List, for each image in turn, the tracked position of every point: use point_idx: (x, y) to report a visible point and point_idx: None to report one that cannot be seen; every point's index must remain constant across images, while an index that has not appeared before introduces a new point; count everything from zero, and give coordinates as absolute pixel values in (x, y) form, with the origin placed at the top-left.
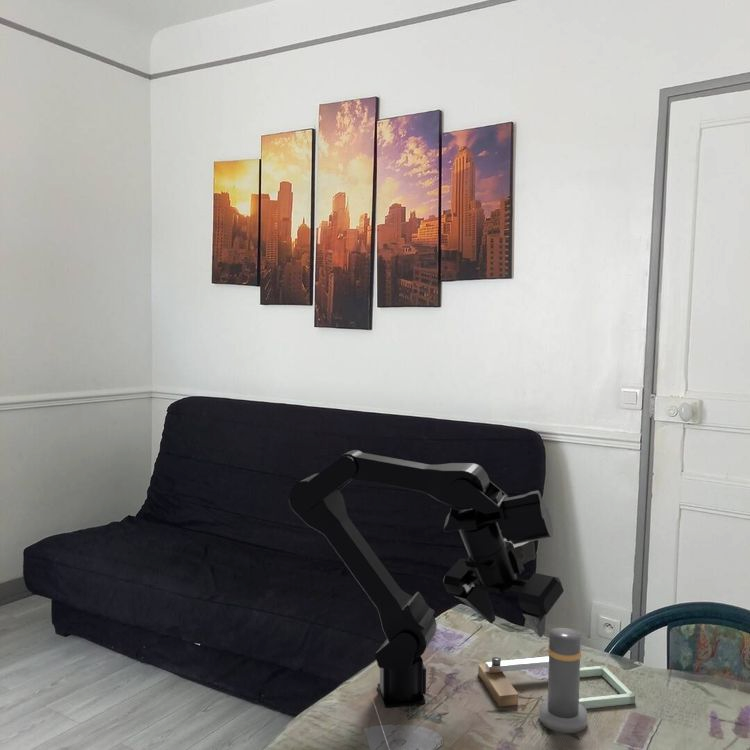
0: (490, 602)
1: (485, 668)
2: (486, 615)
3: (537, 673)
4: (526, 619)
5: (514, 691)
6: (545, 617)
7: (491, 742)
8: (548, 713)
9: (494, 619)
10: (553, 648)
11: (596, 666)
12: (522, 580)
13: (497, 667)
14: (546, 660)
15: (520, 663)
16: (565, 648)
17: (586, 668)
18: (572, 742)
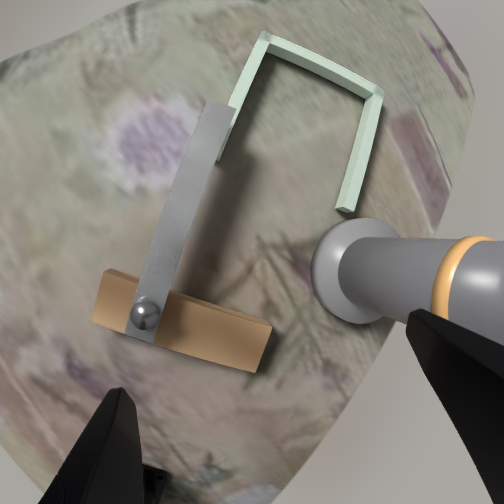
0: (98, 468)
1: (119, 320)
2: (138, 466)
3: (166, 164)
4: (478, 466)
5: (257, 328)
6: (494, 342)
7: (328, 428)
8: (361, 310)
9: (125, 395)
10: None
11: (256, 44)
12: None
13: (159, 317)
14: (209, 156)
15: (181, 243)
16: None
17: (250, 67)
18: None
